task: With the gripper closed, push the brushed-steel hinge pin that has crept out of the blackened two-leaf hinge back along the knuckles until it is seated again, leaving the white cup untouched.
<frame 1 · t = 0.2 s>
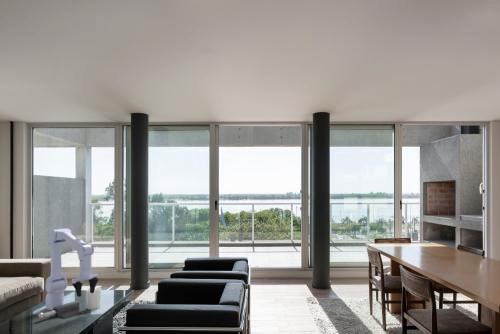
hand: (85, 294, 195), 10 cm above the table, tool pointing down, fingers open, 7 cm apart
hinge pin: (53, 312, 192), point 2 cm above the table, slide at 6.0 cm
hinge leaves: (66, 313, 197), on the table
white cup: (93, 308, 206), on the table
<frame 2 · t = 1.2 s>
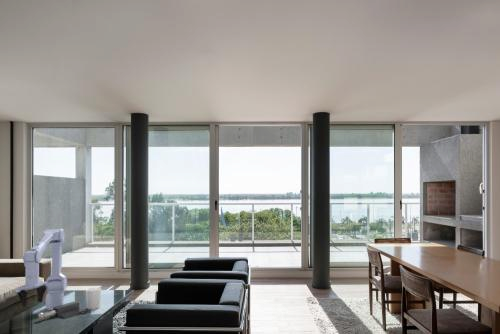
hand: (32, 304, 182), 9 cm above the table, tool pointing down, fingers open, 7 cm apart
nothing on the table moved.
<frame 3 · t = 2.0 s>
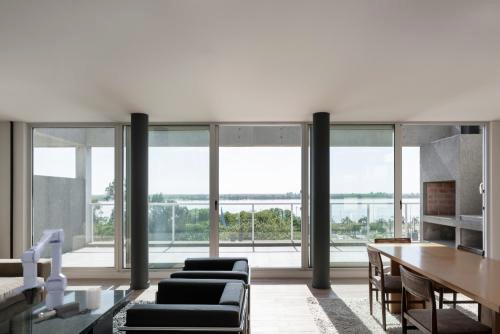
hand: (30, 304, 182), 9 cm above the table, tool pointing down, fingers closed
nothing on the table moved.
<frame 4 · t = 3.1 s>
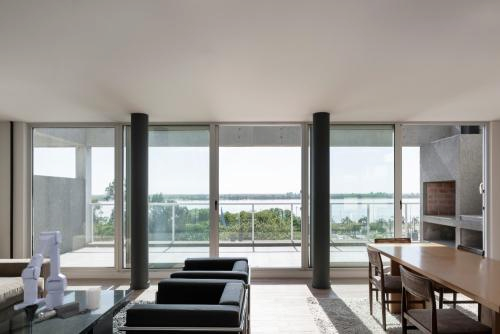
hand: (30, 321, 182), 1 cm above the table, tool pointing down, fingers closed
nothing on the table moved.
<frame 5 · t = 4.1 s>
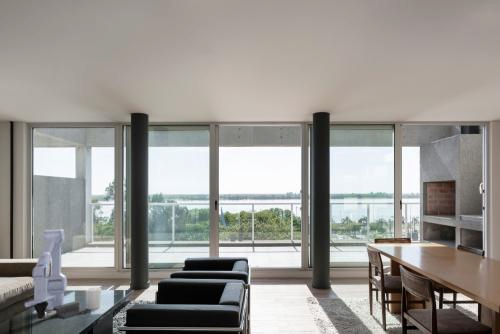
hand: (40, 318, 186), 1 cm above the table, tool pointing down, fingers closed
hinge pin: (56, 311, 193), point 2 cm above the table, slide at 4.3 cm, touching gripper
everything else where it was.
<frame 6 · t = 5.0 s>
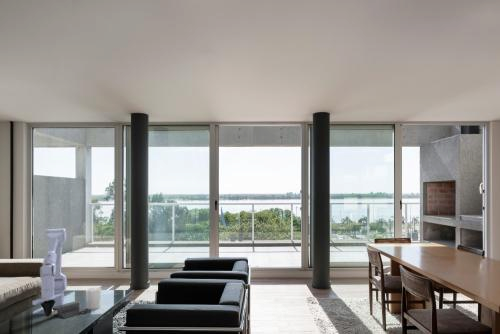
hand: (47, 316, 189), 1 cm above the table, tool pointing down, fingers closed
hinge pin: (63, 310, 196), point 2 cm above the table, slide at 0.7 cm, touching gripper
everything else where it was.
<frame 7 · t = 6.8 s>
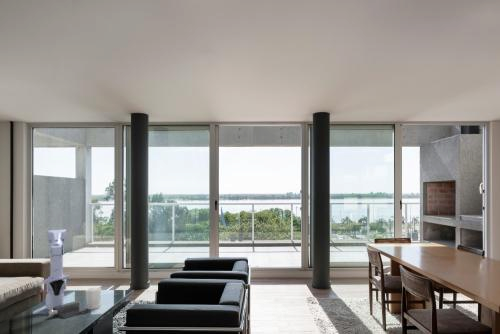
hand: (56, 295, 195), 10 cm above the table, tool pointing down, fingers closed
hinge pin: (63, 310, 196), point 2 cm above the table, slide at 0.6 cm
everything else where it was.
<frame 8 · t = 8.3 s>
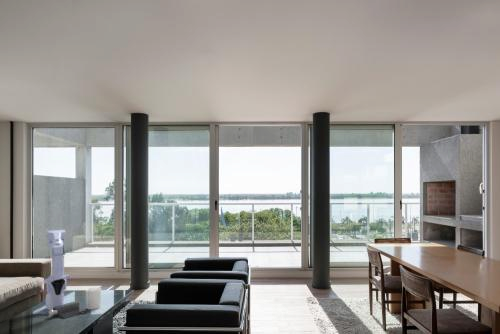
hand: (57, 294, 195), 10 cm above the table, tool pointing down, fingers closed
nothing on the table moved.
at the end: hinge pin slide at 0.6 cm; white cup moved 0.2 cm from its start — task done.
